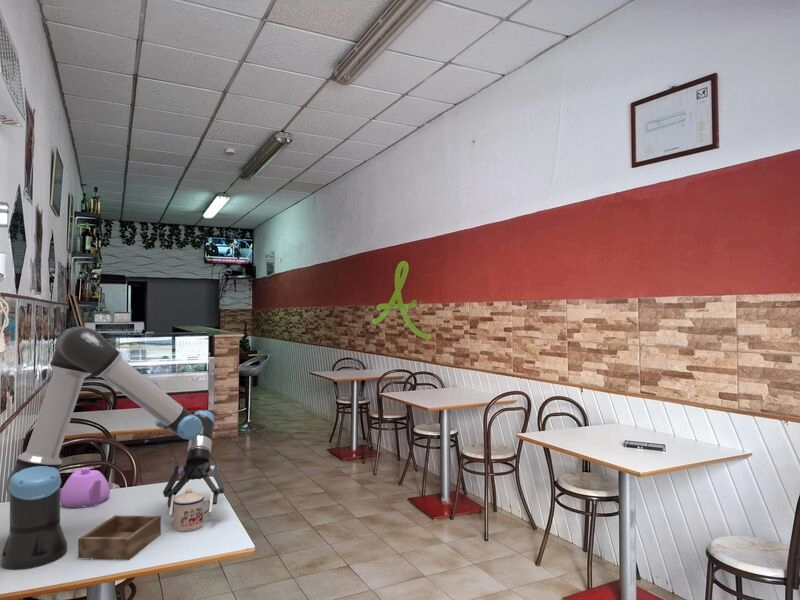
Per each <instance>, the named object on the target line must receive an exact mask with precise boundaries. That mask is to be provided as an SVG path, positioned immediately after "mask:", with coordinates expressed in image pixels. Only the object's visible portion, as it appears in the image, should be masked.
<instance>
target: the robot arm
mask: <svg viewBox="0 0 800 600" xmlns="http://www.w3.org/2000/svg"><path fill="white" fill-rule="evenodd" d="M49 367H50V369H51V370H52V375H51V378H50V380H49V383H48V387H47V389H46V393H45V395H44V399H43V401H42V404H41V407H40V408H39V409H40V410H39V412H38V415H37V419H36V421H35V424H34V426H33V429H32V433H31V434H30V435H31V436H30V438H29V441H28V445H27V448H26V450H25V451H24V452H23V453H21V454H19V455H17V457H16V460H15V463H14V465H13V466H14V467H13V469H12V471H11V472H10V474H9V476H8V477H7V479H6V483H5V491H6V493H7V496H8V500H9V532H8V533H9V534H8V536H7V538H6V539H7V540H6V542H5V545H4V547H3V551H2V554H1V557H0V561H1V566H2V567H3V568H5V569H9V570H20V569H21V570H22V569H30V568H34V567H39V566H43V565H47V564H49V563H52V562H54V561H56V560H58V559H60V558H62V557H63V556H65V554H66V553H67V552H68V542H67V540H66V538H65V534H64V531H63V528H62V526H61V502H60V494H61V484H62V478H61V473H60V470H61V467H62V463H63V460H62V459H61V458H60V452H61V449H62V446H63V444H64V440H65V437H66V434H67V431H68V428H69V425H70V422H71V419H72V416H73V413H74V410H75V407H76V404H77V401H78V399H79V395H80V393H81V390H82V386H83V384H84V380H85V379H86V378H87V377H89V376H90V375H92V376H93V377H95V378H102V379H104V381H106V382H107V383H109V384H110V385H111V386H113V387H114V388H115V389H116V390H117V391H119V392H120V393H122V394H124V396H126V398H129V400H131V401H132V402H134V403H135V404H137V406H139V407H140V408H142V409H143V410H145V411H146V412H147V413H149V414H150V415H151V416H152V417H154V418H155V426H156V427H157V428H160V429H162V430H166V431H169V432H171V433H173V434H175V435H177V436H179V437H180V439H183V440H188V446H187V454H186V459H185V460H186V461H185V465H183V466H178V465H176V466H174V470H173V474H172V475H171V476H170V478H169V480H168V482H167V484H166V485H165V487H164V489H163V491H162V493H163V496H164V498H168V499H167V504H166V505H167V508H169V513H168V517H169V519H170V520H172V519H173V520H174V503H173V501H174V498H175V497H176V495H177V494H178V493H179V492H180V491H181V490H182V489H183V487H184V486H185V485H186V484H187V483H188V482H189V481H190V480H192V481H193V480H202V479H203V481H204V482H205V484H206V485H207V486H208V487H209V489H210V491H211V492H210V498H209V500H210V507H209V506H208V507H209V513H208V515H209V516H210V517H213V512H214V505H217V503H218V498H219V497H218V496H219V495H220V494H224V493H225V489H224V488H225V487H224V485H223V482H222V478H221V476H220V472H219V471H220V467H219V466H220V465H219V464H218V463H215V464H214V465H210V461H211V451H212V445H213V444H212V443H213V436H214V435H213V434H214V428H215V416H214V414H213V413H212V411H209V410H202V409H201V410H197V411H195V412H194V413H191V411H188V409H186V408H184V406H183V405H182V404H180V403H179V402H177V401H176V400H174V398H172V397H171V396H170V395H169V394H167V393H166V392H165V391H163V390H162V389H161V388H160V387H158V386H157V385H156V384H155V383H153V382H152V381H151V380H150V379H148V377H146V376H145V375H143V374H142V373H141V372H139V371H138V370H137V368H134V367H133V366H132V365H131V364H129V363H128V362H127V361H126V360H125V359H123V358H122V356H121V352H120V351H119V350H118V349H116V348H115V347H114V346H113V345H112V344H111V343H110V342H109V341H108V340H107V339H106V338H105V337H104V336H103V335H102V334H101V333H100V332H98V331H97V330H95V329H93V328H90V327H83V326H74V327H73V326H72V327H70V328H68V329H65V330H63V331H62V332H61V333H60V334H59V335H58V336H57V338H56V341H55V344H54V353H53V356H52V357H51V360H50V365H49ZM210 471H211V472H212V473H213V474H214V477H215V480H216V483H217V486H216V485H215V484H214V482H213V480H212V479H211V478H210V477H209V474H208V473H209V472H210ZM183 472H184V474H183V475H182V477H181V479H179V476H180V475H181V474H182V473H183ZM178 479H179V480H178ZM177 480H178V482H177ZM176 482H177V483H176Z"/></svg>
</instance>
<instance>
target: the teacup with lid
mask: <svg viewBox="0 0 800 600" xmlns="http://www.w3.org/2000/svg"><path fill="white" fill-rule="evenodd" d="M205 502H208V507H207V509H206V510H205V511H204V503H205ZM173 503H174V514H173V529H174V530H175V531H176V532H191V531H196V530H198V529H200V528H201V527H202V526H204V516H206V515H209V507H210V498H205V496H204V494H203V493H200V492H196V491H193V488H187V489H185V491H184V492H183V493H181V494H178V495H177V496H175V498H174V501H173Z"/></svg>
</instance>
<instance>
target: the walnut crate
mask: <svg viewBox="0 0 800 600" xmlns="http://www.w3.org/2000/svg"><path fill="white" fill-rule="evenodd" d="M161 520H162V516H161V515H114V516H112V517H110V518H109V519H107V520H105V521H104V522H102V523H101V524H98V526H96V527H94V528H93V529H91V530H89V531H88V532H86V533H85V534H83V535H82V536H80V537H78V538H77V539H78V540H77V547H78V549H77V559H78V558H86V559H85V560H91V559H90V558H93V559H92V560H113V559H116V560H120V561H122V560H123V561H127V560H128V561H129V560H131V559H132V558H134V556H136V555H138V553H139V552H141V551H142V550H143V549H145V548H146V547H147V546H148V545H150V544H151V543H152V542H153V541H154V540H156V539H157V538H158V537H159V536H160V535H161V534H162V521H161ZM87 558H89V559H87ZM116 560H115V561H116Z"/></svg>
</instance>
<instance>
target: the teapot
mask: <svg viewBox="0 0 800 600" xmlns="http://www.w3.org/2000/svg"><path fill="white" fill-rule="evenodd" d="M110 493H111V489H110V485H109V482H108V480H107V478H106V476H105V475H104V474H103V473H102V472H101V471H99V470H97V469H96V470H95V469H92V470H91V467H89V466H87V467H82V468H76V469H72V471H71V475H70V476H69V477H68V479H67V480H66V481H65V483H64V484H63V486H62V488H61V490H60V504H61V505H63V506H64V507H66V506H67V507H66V508H69V507H81V508H84V507H83V506H88V507H91V506H90V505H92V506H95V505H94V504H96V505H99V504H101V503H103V502H104V501H106V499H108V497H109V496H110ZM98 503H99V504H98Z"/></svg>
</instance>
